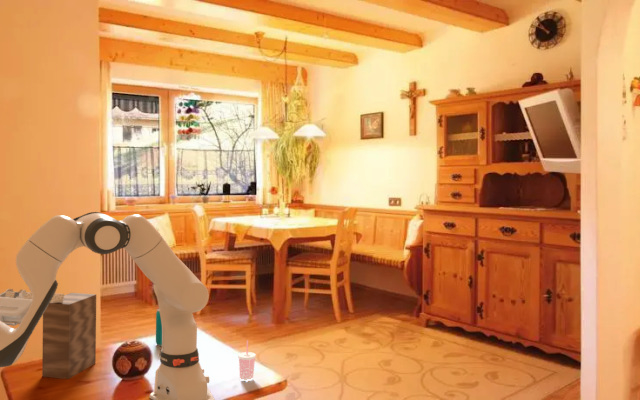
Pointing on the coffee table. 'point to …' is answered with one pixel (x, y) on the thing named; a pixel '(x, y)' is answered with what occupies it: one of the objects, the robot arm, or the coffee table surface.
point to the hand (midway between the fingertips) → (17, 290)
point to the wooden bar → (55, 299)
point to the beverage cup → (246, 364)
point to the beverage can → (158, 329)
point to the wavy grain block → (69, 336)
